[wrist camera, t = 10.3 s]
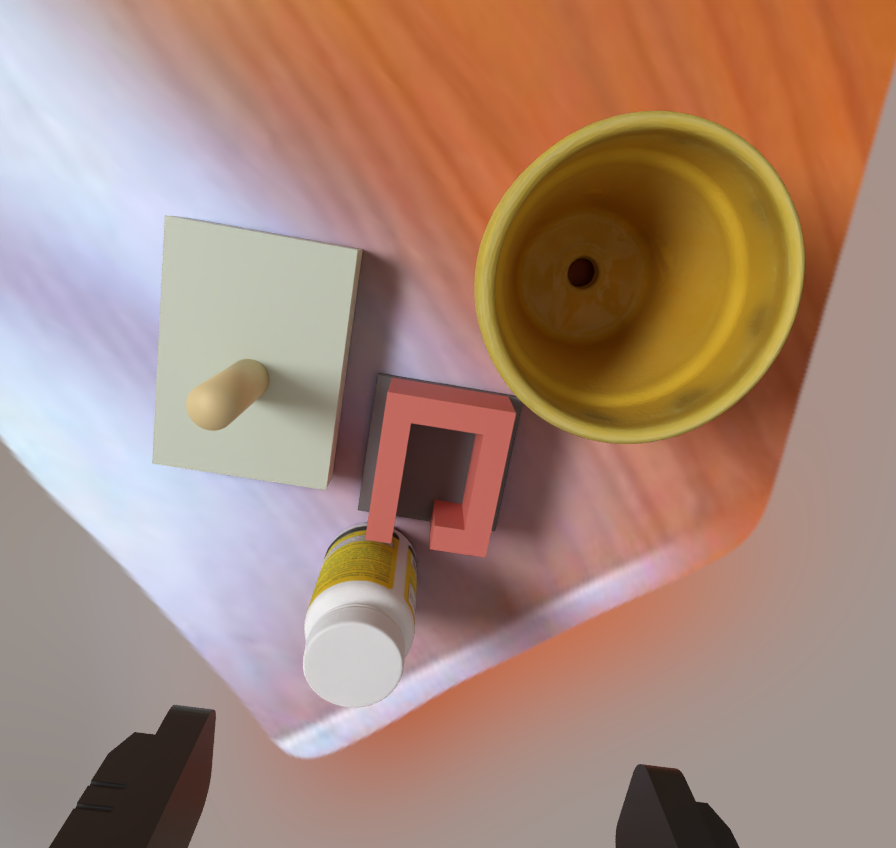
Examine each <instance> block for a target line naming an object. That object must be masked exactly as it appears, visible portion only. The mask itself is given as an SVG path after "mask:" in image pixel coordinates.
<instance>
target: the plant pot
mask: <svg viewBox="0 0 896 848" xmlns="http://www.w3.org/2000/svg"><path fill="white" fill-rule="evenodd" d="M580 258H586V259H588V260H590V261H591V262H592V264H593V266H594V276H593V279H592V280H591V282H590V283H588V284H587V285H585V286H581V287H578V286H574V285H573V284H571V283H570V281H569V279H568V270H569V267H570V265H571V264H572V263H573V262H574V261H575V260H577V259H580ZM804 272H805V250H804V241H803V235H802V230H801V225H800V221H799V217H798V214H797V211H796V208H795V206H794V203H793V201H792V199H791V196H790V194H789V192H788V190H787V188H786V186H785V184H784V183H783V181H782V180H781V178H780V177H779V175H778V174H777V172H776V170H775V169H774V168H773V167H772V165H771V164H770V163H769V162H768V161H767V160H766V158H765V157H764V156H763V155H762V154H761V153H760V152H759V151H758V150H757V149H756V148H755V147H754V146H752V145H751V144H750V143H748V142H747V141H746V140H744V139H743V138H742V137H740V136H739V135H737V134H736V133H734V132H732V131H731V130H729V129H727V128H725V127H723V126H721V125H719V124H717V123H715V122H712V121H710V120H707V119H704V118H701V117H698V116H694V115H690V114H685V113H678V112H672V111H644V112H634V113H628V114H623V115H618V116H614V117H611V118H607V119H604V120H601V121H598V122H595V123H593V124H590V125H588V126H586V127H584V128H582V129H580V130H578V131H576V132H574V133H572V134H570V135H568V136H567V137H565V138H564V139H562V140H561V141H559V142H558V143H556V144H555V145H553V146H552V147H551V148H550V149H548V150H547V151H546V152H544V153H543V154H542V155H541V156H540V157H538V158H537V159H536V160H535V161H534V162H533V163H532V164H531V165H530V166H528V167H527V168H526V169H525V170H524V171H523V173H522V174H521V175H520V176H519V177H518V178H517V179H516V180H515V181H514V183H513V184H512V185H511V186H510V188H509V189H508V190H507V192H506V193H505V194H504V196H503V198H502V199H501V201H500V202H499V204H498V206H497V207H496V209H495V211H494V213H493V215H492V217H491V219H490V221H489V223H488V225H487V228H486V230H485V233H484V235H483V238H482V242H481V245H480V248H479V253H478V257H477V263H476V270H475V306H476V314H477V319H478V324H479V328H480V331H481V335H482V338H483V341H484V343H485V346H486V348H487V350H488V353H489V355H490V357H491V359H492V361H493V363H494V365H495V367H496V369H497V370H498V372H499V374H500V375H501V377H502V378H503V380H504V381H505V383H506V384H507V385H508V387H509V388H510V389H511V391H512V392H513V393H514V394H515V395H516V396H517V398H518V399H519V400H520V401H522V402H523V403H524V404H525V405H526V406H527V407H528V408H529V409H530V410H532V411H533V412H534V413H535V414H537V415H538V416H539V417H541V418H542V419H544V420H545V421H547V422H548V423H550V424H552V425H554V426H556V427H558V428H560V429H562V430H564V431H566V432H569V433H571V434H574V435H577V436H579V437H583V438H586V439H590V440H594V441H599V442H606V443H614V444H637V443H647V442H654V441H659V440H664V439H667V438H671V437H675V436H678V435H681V434H684V433H686V432H689V431H691V430H694V429H696V428H698V427H700V426H702V425H704V424H706V423H708V422H710V421H711V420H713V419H715V418H716V417H718V416H719V415H721V414H722V413H724V412H725V411H727V410H728V409H729V408H731V407H732V406H733V405H734V404H736V403H737V402H738V401H739V400H740V399H741V398H743V397H744V396H745V395H746V394H747V393H748V392H749V391H750V390H751V389H752V388H753V387H754V386H755V385H756V384H757V383H758V381H759V380H760V379H761V378H762V377H763V375H764V374H765V373H766V372H767V370H768V369H769V368H770V366H771V365H772V363H773V362H774V360H775V359H776V357H777V356H778V354H779V352H780V351H781V349H782V347H783V345H784V343H785V341H786V339H787V337H788V335H789V333H790V330H791V328H792V326H793V323H794V321H795V318H796V314H797V311H798V307H799V303H800V299H801V294H802V289H803V282H804Z"/></svg>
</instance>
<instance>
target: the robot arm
mask: <svg viewBox="0 0 896 848" xmlns="http://www.w3.org/2000/svg"><path fill="white" fill-rule="evenodd" d="M215 720H216V713H215V710H211V709H204V708H196V707H187V706H180V705H173V706H172V707H171V709H170V710H169V711H168V713H167V715H166V717H165V718H164V720H163V722H162V724H161V726H160V727H159V729H158V731H157V733H156V734H155V735H153V734H145V733H137V732H134V733H133V734H132V735H131V736H130V737H128V738H127V739H126V740H125V741H123V742H122V743H121V744H120V745H118V746H117V747H116V748H115V749H114V750H112V751H111V752H110V753H109V754H108V755H107V757H106V758H105V760H104V761H103V763H102V765H101V766H100V768H99V769H98V771H97V773H96V774H95V776H94V777H93V779H92V780H91V784H90V786H88V787H87V788H86V790H85V791H84V793H83V795H82V796H81V798H80V799H79V801H78V802H77V806H76V808H75V809H73V810H72V812H71V814H70V815H69V817H68V818H67V820H66V821H65V823H64V825H63V826H62V828H61V829H60V831H59V832H58V834H57V836H56V837H55V839H54V841H53V842H52V844H51V845H50V847H49V848H188V845H189V843H190V841H191V838H192V836H193V833H194V831H195V828H196V826H197V823H198V821H199V818H200V816H201V813H202V810H203V807H204V804H205V801H206V797H207V793H208V789H209V784H210V778H211V770H212V757H213V745H214V732H215ZM616 848H739V846H738V844H737V842H736V840H735V838H734V836H733V834H732V832H731V830H730V828H729V827H728V826H727V825H726V824H725V823H724V821H723V820H722V819H721V818H720V817H719V816H718V815H717V814H716V813H715V811H714V810H713V809H712V808H711V807H710V806H709V805H708V803H702V802H696V801H695V799H694V797H693V795H692V792H691V790H690V788H689V786H688V784H687V782H686V780H685V777H684V776H683V774H682V772H681V771H680V770H678V769H675V768H666V767H657V766H651V765H642V764H639V765H637V766H636V768H635V770H634V772H633V776H632V778H631V782H630V785H629V788H628V791H627V794H626V798H625V801H624V804H623V807H622V810H621V814H620V817H619V820H618V823H617V828H616Z"/></svg>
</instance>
